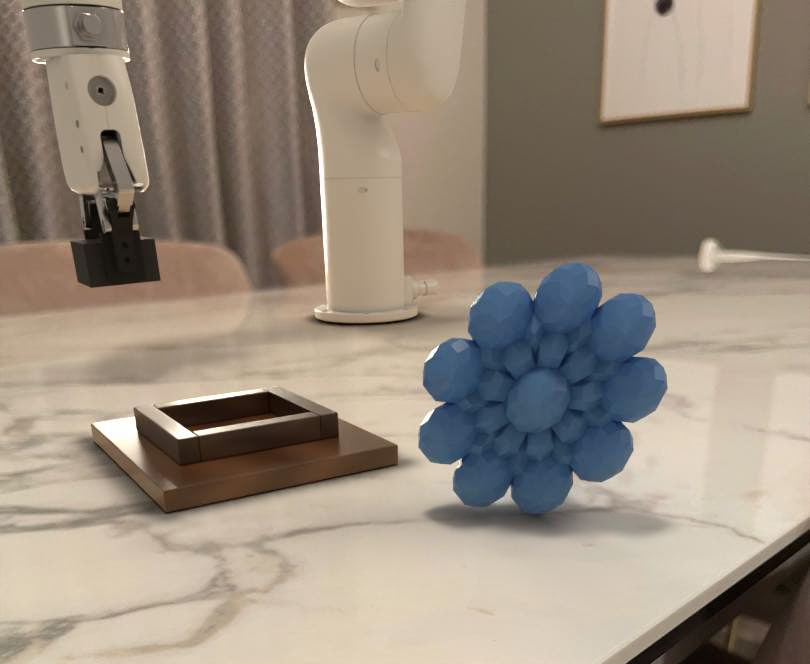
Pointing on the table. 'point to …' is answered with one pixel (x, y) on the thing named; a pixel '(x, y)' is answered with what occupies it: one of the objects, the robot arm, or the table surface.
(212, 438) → the wooden socket base
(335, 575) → the table surface
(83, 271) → the dark grey block
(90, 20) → the robot arm
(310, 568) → the table surface
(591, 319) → the blue flower ornament
